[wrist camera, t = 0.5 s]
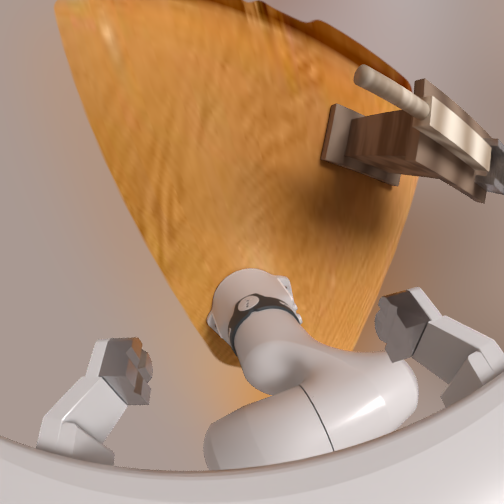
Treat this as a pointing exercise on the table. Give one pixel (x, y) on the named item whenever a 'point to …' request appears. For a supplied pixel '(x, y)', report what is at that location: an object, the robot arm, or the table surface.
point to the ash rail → (430, 118)
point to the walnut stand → (399, 146)
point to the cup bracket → (493, 168)
